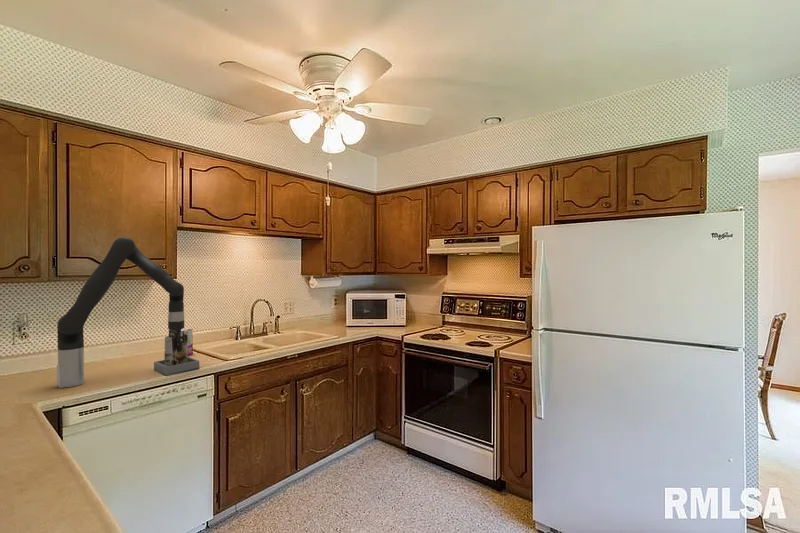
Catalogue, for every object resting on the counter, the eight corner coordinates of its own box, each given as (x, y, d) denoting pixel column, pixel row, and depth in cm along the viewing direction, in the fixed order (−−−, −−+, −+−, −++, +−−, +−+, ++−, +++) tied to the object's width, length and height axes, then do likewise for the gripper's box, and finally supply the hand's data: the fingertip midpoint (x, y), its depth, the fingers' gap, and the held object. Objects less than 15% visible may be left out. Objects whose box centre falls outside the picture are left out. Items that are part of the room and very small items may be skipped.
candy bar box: (186, 354, 235) (185, 328, 235) (193, 354, 234) (192, 328, 234) (172, 358, 224) (172, 331, 224) (180, 359, 223) (179, 331, 223)
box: (166, 376, 189) (166, 367, 189) (153, 370, 200) (153, 361, 200) (199, 369, 202) (199, 360, 201) (186, 363, 212) (186, 355, 212)
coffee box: (173, 368, 195) (173, 337, 195) (163, 367, 197) (163, 336, 197) (188, 364, 204) (188, 334, 204) (178, 363, 206) (178, 333, 206)
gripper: (163, 319, 202) (163, 349, 202) (173, 322, 193) (174, 353, 193) (178, 318, 208) (178, 347, 208) (189, 320, 199) (189, 351, 199)
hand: (176, 350), depth 200 cm, fingers closed on coffee box, 8 cm apart
